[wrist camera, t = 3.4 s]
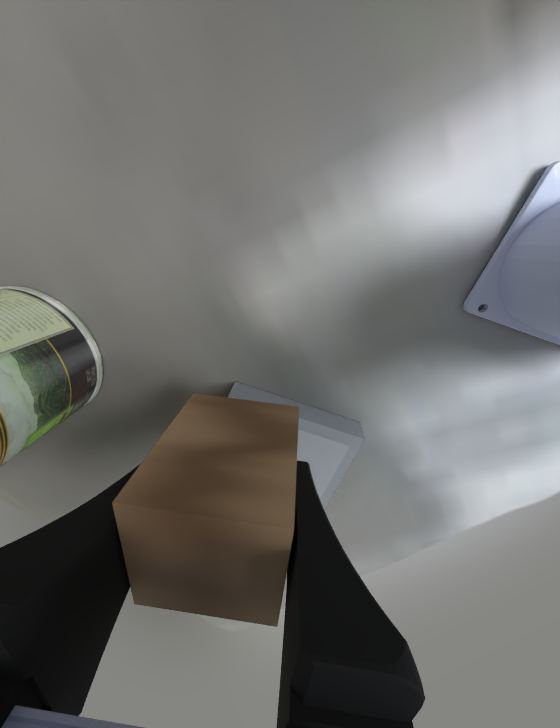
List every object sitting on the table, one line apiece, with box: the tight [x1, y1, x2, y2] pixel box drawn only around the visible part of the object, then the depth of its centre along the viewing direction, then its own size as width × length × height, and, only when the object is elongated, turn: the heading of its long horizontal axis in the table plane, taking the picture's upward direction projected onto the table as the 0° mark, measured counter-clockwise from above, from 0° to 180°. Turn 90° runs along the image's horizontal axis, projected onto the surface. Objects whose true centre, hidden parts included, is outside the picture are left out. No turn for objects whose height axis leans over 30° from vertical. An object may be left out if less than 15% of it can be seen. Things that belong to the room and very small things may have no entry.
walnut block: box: [112, 393, 299, 626], centre depth 11 cm, size 5×5×6 cm
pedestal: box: [228, 382, 365, 509], centre depth 22 cm, size 10×10×2 cm
